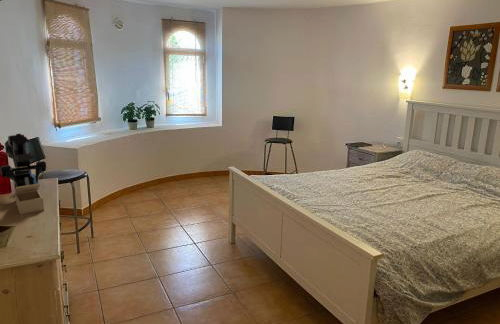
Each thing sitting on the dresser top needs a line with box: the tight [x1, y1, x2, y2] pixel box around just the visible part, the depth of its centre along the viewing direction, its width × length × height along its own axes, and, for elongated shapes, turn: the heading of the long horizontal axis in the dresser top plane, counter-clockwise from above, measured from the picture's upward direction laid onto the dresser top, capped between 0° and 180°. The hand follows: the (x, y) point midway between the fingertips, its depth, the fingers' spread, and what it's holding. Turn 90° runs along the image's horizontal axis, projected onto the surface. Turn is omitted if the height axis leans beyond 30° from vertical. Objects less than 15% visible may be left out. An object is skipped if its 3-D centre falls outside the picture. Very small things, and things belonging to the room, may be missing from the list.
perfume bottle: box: [29, 170, 39, 184], centre depth 210 cm, size 6×6×12 cm
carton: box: [14, 189, 45, 216], centre depth 183 cm, size 14×10×6 cm
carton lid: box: [14, 177, 41, 195], centre depth 182 cm, size 14×10×5 cm
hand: (27, 183), depth 178 cm, fingers open, 8 cm apart
